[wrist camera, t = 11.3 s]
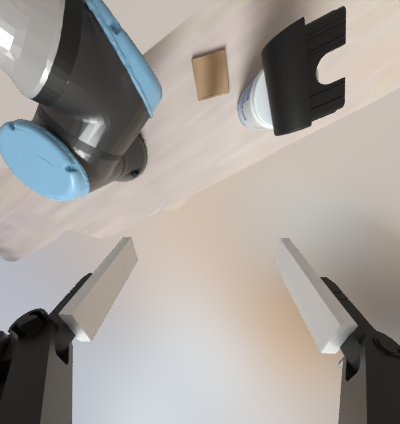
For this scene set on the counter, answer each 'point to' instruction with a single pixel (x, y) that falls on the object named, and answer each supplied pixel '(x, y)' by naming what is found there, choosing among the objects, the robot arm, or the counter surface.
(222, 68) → the oak coaster
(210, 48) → the counter surface
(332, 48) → the end cap
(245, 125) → the supplement tub
